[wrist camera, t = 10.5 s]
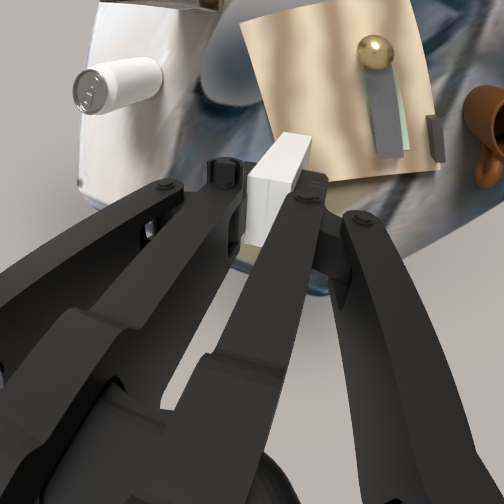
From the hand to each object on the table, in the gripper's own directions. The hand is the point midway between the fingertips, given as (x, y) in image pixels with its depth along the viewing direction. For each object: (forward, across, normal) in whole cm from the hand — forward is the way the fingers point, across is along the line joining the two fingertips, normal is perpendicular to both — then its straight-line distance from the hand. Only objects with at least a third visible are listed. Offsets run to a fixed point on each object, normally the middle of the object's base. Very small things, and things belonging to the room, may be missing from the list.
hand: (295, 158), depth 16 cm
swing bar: (+22, +6, +2) cm, 23 cm away
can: (+25, -25, +2) cm, 35 cm away
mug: (+25, +20, +2) cm, 32 cm away
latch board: (+24, +2, +2) cm, 25 cm away
